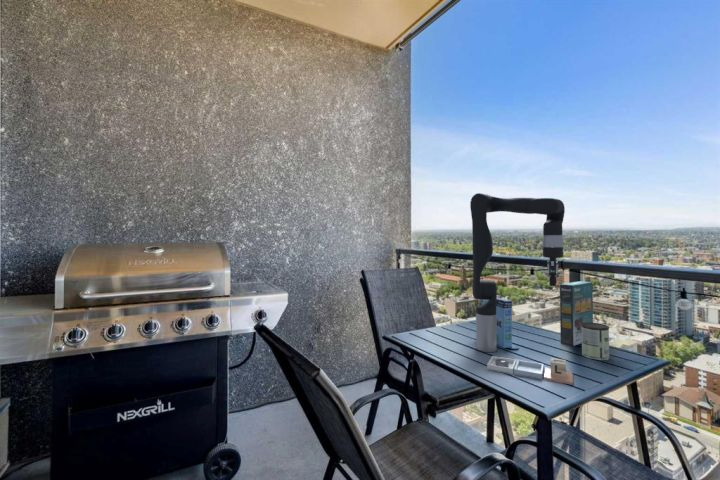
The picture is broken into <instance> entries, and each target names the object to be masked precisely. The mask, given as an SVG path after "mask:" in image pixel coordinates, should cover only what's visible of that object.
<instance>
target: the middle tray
mask: <svg viewBox="0 0 720 480" xmlns="http://www.w3.org/2000/svg"><path fill="white" fill-rule="evenodd" d="M516 360H517V363H516V365H515V368H514V373H513V375H514V376H520V377H525V378H530V379H535V380H541V381H542V380H543V378H544V371H545V367H544V363H542V362H541V363H539V362H535V361H534V362H533V361H528V360H521V359H516Z"/></svg>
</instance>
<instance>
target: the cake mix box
mask: <svg viewBox="0 0 720 480" xmlns="http://www.w3.org/2000/svg"><path fill="white" fill-rule="evenodd" d="M593 284H594V283H593V281H582V280H580V281H572V282H565V283H560V284H559V309H560V310H559V315H560V318H559V319H560V320H559V321H560V322H559V323H560V325H559V328H560V344H562V345H568V346H572V347H574V346H577V345H580V344H582V326H581V323H586V322H590V323H594V305H593V304H594V301H593V300H594V299H593V298H594V297H593V296H594V294H593V293H594V291H593V290H594V289H593Z"/></svg>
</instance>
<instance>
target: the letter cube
mask: <svg viewBox="0 0 720 480" xmlns="http://www.w3.org/2000/svg"><path fill="white" fill-rule="evenodd" d="M566 362H567V360H565V359H561V358H552V357H551V358H550V368H551V375H553V376H559V377H564V378H566V371H567V363H566Z"/></svg>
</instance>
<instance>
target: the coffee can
mask: <svg viewBox="0 0 720 480" xmlns="http://www.w3.org/2000/svg"><path fill="white" fill-rule="evenodd" d="M581 326H582V343H581V355H582V356H583V357H584V358H587V359H592V360H596V361H608V360H609V359H610V330H609V329H610V326H609V325H607V324H604V323H600V322H599V323H598V322H593V323H590V322H586V323H581Z"/></svg>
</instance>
